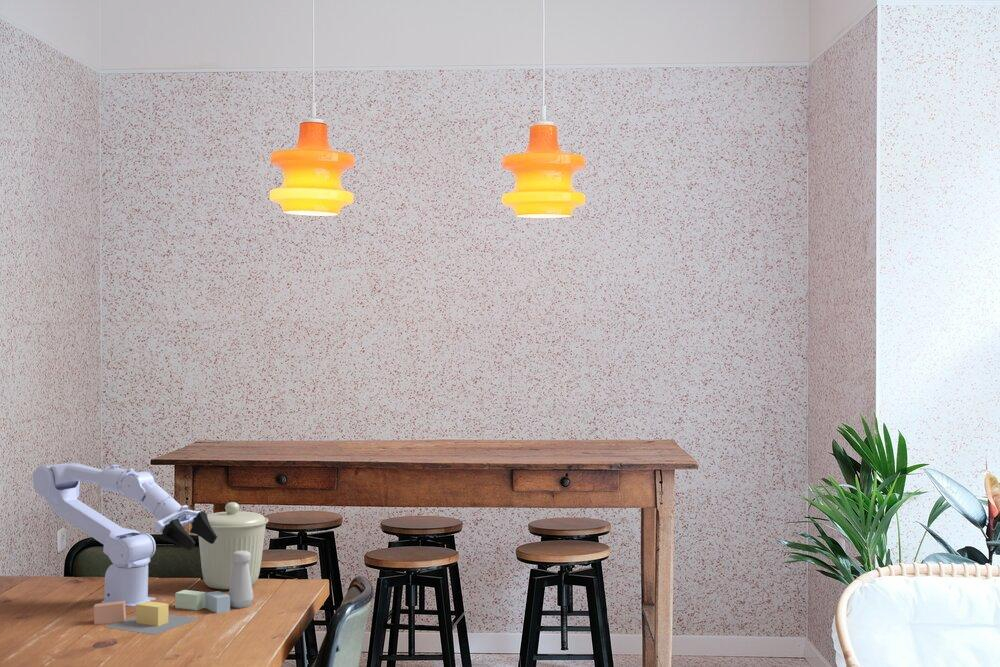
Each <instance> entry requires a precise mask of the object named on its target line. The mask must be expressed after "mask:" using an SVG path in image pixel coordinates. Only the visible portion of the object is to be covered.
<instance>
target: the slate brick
mask: <svg viewBox="0 0 1000 667" xmlns="http://www.w3.org/2000/svg"><path fill="white" fill-rule="evenodd" d="M204 608H205V610H206V609H207V610H209V611H211V612H213V613H216V614H221V613H227V612H230V611H231V605H230V596H229V595H228V594H227V593H224V592H222V591H220V590H218V591H217V590H216V591H210V592H206V593H205V607H204Z"/></svg>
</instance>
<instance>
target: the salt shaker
mask: <svg viewBox="0 0 1000 667" xmlns="http://www.w3.org/2000/svg"><path fill="white" fill-rule="evenodd" d="M250 560H251V554H250V552H248V551H236V552H234V553H233V554H232V561H233V562H235V563H234V568H233V573H232V579H231V584H230V589H229V591H228V594H227V595H229V596H230V608H234V609H235V608H236V609H244V608H250V607H251V605H252V602H253V601H254V590H253V585H252V584H251V577H250V571H249V564H248V562H249V561H250ZM249 606H250V607H249Z"/></svg>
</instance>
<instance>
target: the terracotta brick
mask: <svg viewBox="0 0 1000 667" xmlns="http://www.w3.org/2000/svg"><path fill="white" fill-rule="evenodd" d="M126 611H127V610H126V605H125V601H116V602H108V603H102V602H101V603H95V604H94V605H93V620H94V621H93V622H94V625H103V624H104V625H105V624H106V625H107V624H108V625H110V624H114V623H119V622H124V621H125V620H126V619H127V613H126Z"/></svg>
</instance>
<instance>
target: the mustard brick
mask: <svg viewBox="0 0 1000 667" xmlns="http://www.w3.org/2000/svg"><path fill="white" fill-rule="evenodd" d="M135 606H136V609H135V612H136V613H135V615H136V623H140V624H147V625H154V626H160V625H162V624H165V623H168V614H169V610H170V609H169V603H166V602H158V601H152V600H151V601H145V602H142V603H139V604H136V605H135Z"/></svg>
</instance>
